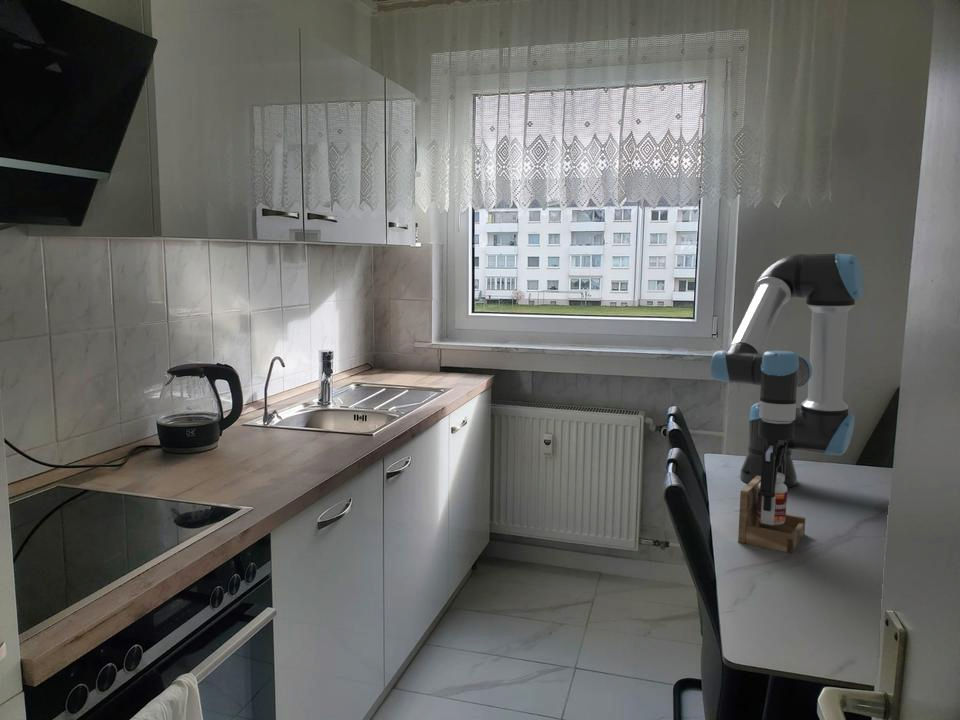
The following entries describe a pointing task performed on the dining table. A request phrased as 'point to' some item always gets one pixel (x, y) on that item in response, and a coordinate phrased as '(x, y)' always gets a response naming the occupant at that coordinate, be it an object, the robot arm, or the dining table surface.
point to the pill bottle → (776, 500)
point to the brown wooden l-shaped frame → (761, 536)
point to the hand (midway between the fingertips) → (770, 519)
